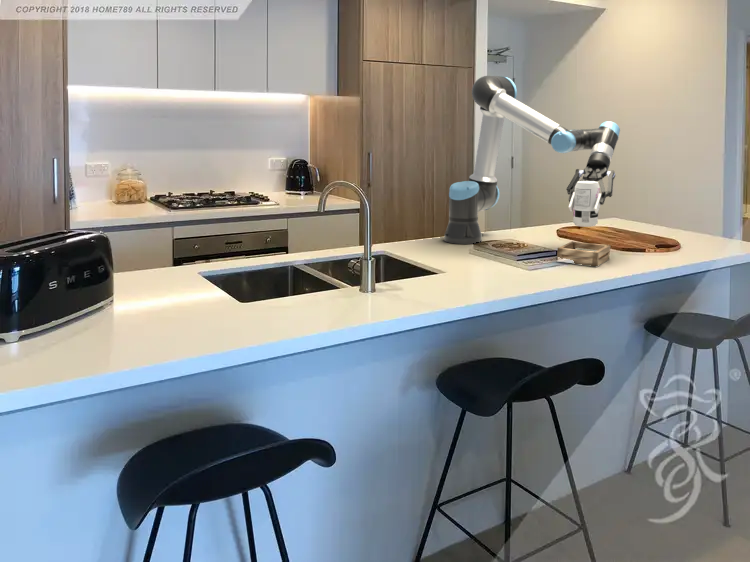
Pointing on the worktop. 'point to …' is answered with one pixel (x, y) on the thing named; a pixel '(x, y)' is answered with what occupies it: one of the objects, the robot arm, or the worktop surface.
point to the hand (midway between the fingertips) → (583, 210)
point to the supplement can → (585, 203)
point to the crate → (585, 253)
